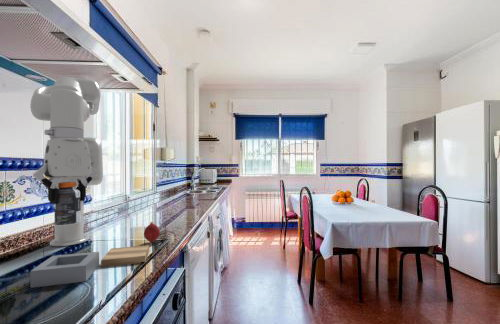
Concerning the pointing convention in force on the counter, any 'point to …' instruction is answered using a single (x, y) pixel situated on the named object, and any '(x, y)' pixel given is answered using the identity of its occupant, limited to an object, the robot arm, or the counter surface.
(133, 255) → the pad
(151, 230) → the onion
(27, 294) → the counter surface
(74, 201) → the pill bottle
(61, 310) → the counter surface
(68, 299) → the counter surface
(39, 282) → the socket collar
